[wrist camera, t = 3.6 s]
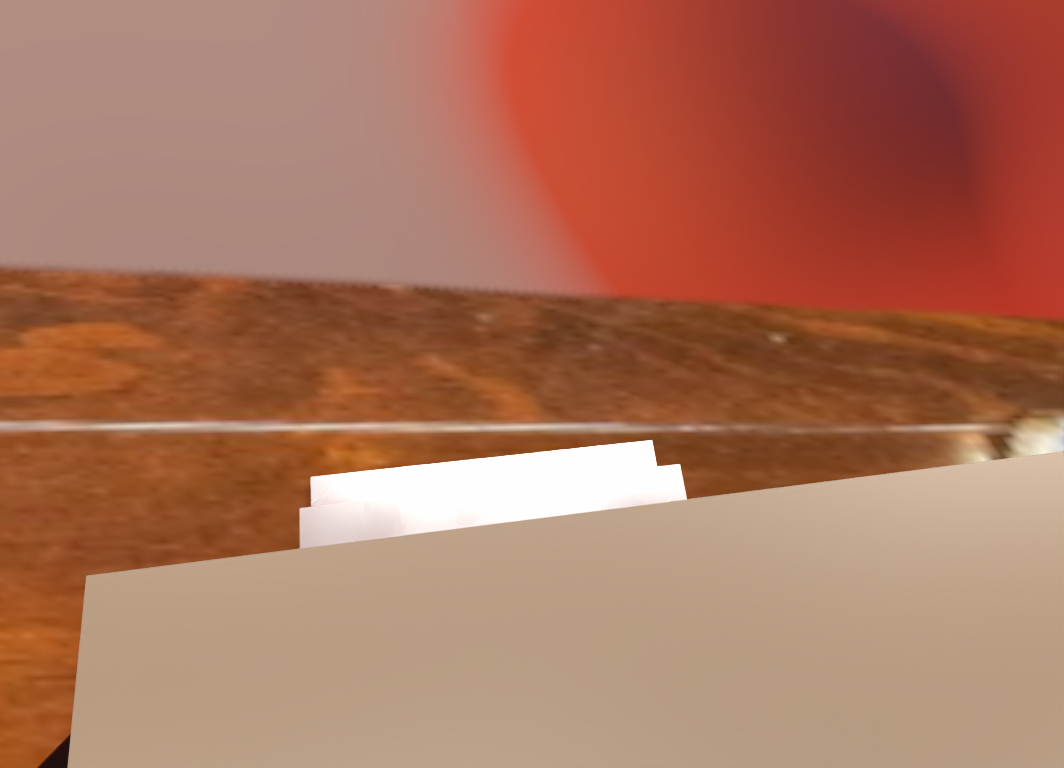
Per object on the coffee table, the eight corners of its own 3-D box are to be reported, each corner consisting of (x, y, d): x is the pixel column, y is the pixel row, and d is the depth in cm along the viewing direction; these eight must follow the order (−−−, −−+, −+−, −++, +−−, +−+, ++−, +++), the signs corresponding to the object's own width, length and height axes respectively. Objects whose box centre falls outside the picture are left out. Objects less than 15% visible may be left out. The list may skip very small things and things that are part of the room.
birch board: (602, 592, 16) (1216, 793, 3) (402, 622, 15) (33, 1106, 2) (592, 525, 17) (1073, 450, 4) (399, 550, 16) (86, 575, 3)
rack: (740, 941, 15) (824, 1061, 11) (324, 1054, 13) (275, 1236, 10) (646, 443, 19) (687, 420, 15) (315, 479, 17) (278, 462, 13)
